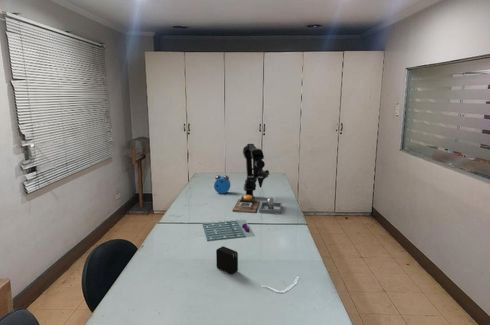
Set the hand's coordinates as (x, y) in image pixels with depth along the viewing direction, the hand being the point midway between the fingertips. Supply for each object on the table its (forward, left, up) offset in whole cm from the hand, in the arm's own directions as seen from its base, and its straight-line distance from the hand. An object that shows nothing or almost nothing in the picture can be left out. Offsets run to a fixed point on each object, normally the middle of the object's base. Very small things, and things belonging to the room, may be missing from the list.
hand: (257, 188), depth 236 cm
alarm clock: (-30, -33, -15) cm, 47 cm away
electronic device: (+87, -3, -15) cm, 88 cm away
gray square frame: (+2, +10, -15) cm, 18 cm away
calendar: (+41, -13, -15) cm, 46 cm away
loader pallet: (-1, -8, -15) cm, 17 cm away
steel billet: (+2, +10, -15) cm, 18 cm away
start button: (-8, -8, -11) cm, 16 cm away
